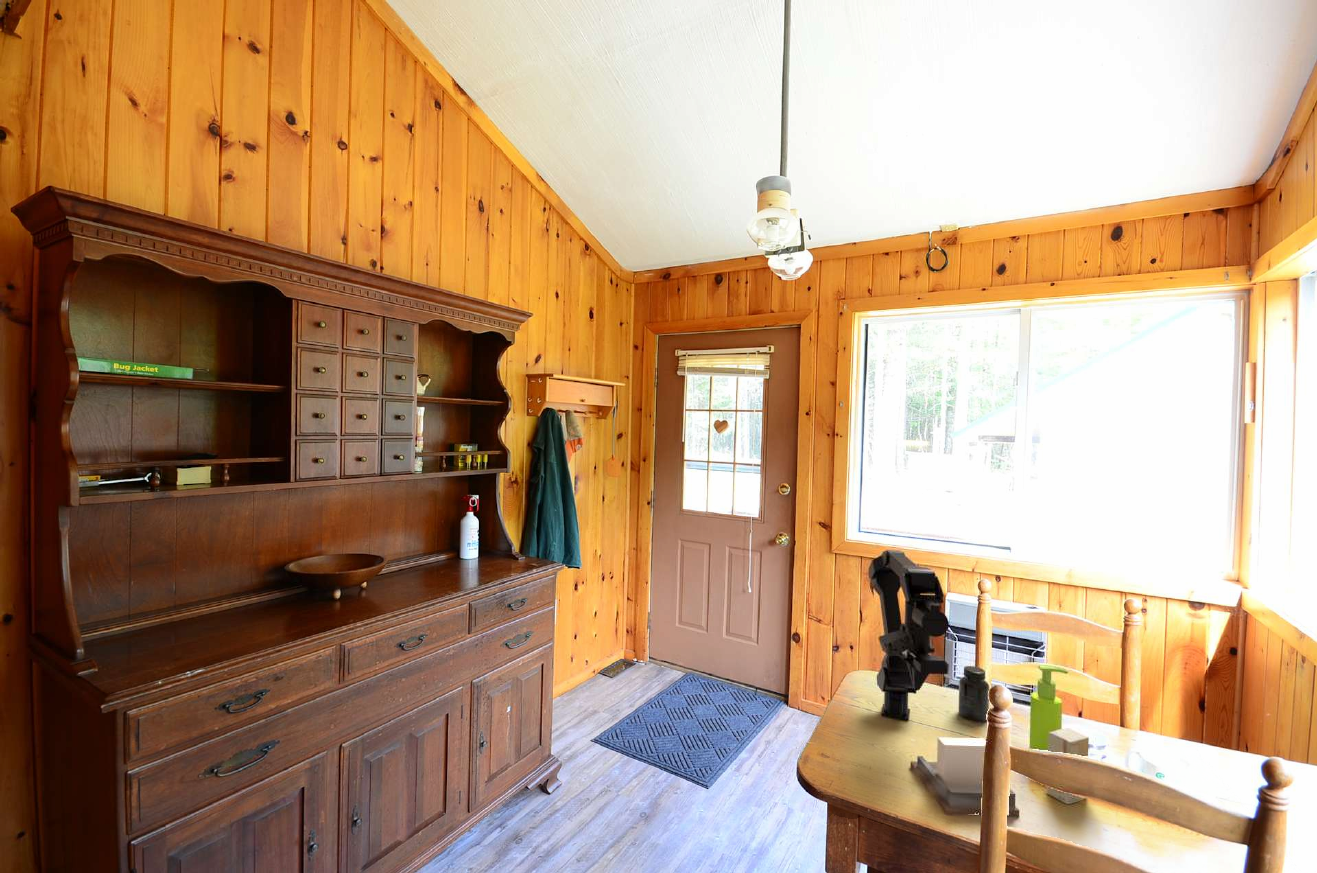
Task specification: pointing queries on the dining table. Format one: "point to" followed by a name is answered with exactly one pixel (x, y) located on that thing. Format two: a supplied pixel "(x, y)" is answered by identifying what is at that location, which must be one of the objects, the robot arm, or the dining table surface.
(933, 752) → the dining table surface
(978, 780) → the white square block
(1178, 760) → the dining table surface
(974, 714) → the supplement bottle
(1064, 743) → the skincare box
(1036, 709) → the soap dispenser
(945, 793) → the press base
